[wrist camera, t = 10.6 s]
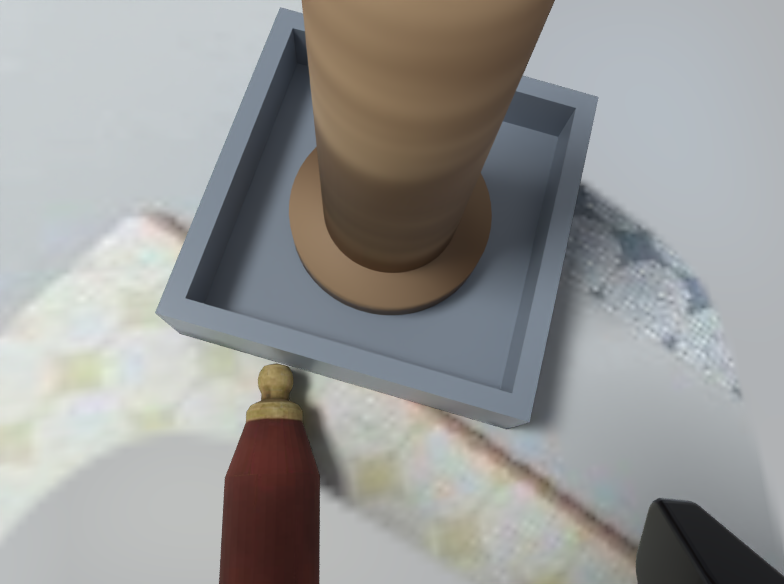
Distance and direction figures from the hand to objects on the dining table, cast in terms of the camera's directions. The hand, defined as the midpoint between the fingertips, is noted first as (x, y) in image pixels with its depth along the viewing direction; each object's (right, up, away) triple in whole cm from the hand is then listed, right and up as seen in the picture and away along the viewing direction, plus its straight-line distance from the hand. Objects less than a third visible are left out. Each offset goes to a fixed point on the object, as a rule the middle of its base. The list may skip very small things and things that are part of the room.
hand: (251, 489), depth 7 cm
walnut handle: (+2, +4, +12) cm, 13 cm away
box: (+2, +4, +13) cm, 14 cm away
